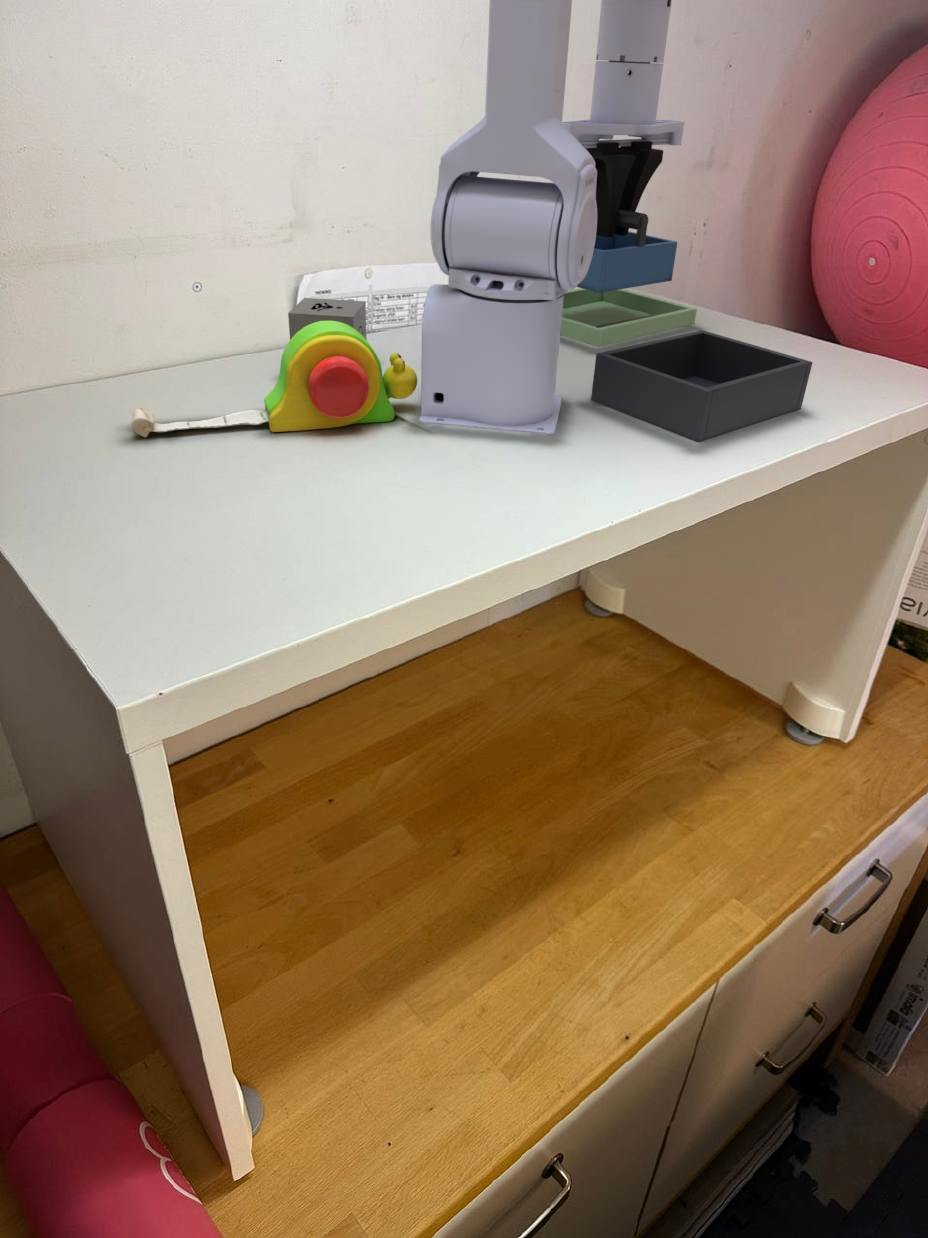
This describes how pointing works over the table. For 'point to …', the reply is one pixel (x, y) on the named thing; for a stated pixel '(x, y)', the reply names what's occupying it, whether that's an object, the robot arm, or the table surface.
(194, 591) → the table surface
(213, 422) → the toy measuring tape
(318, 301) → the dark gray cube
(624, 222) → the blue bin
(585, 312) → the green tray
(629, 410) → the charcoal bin
